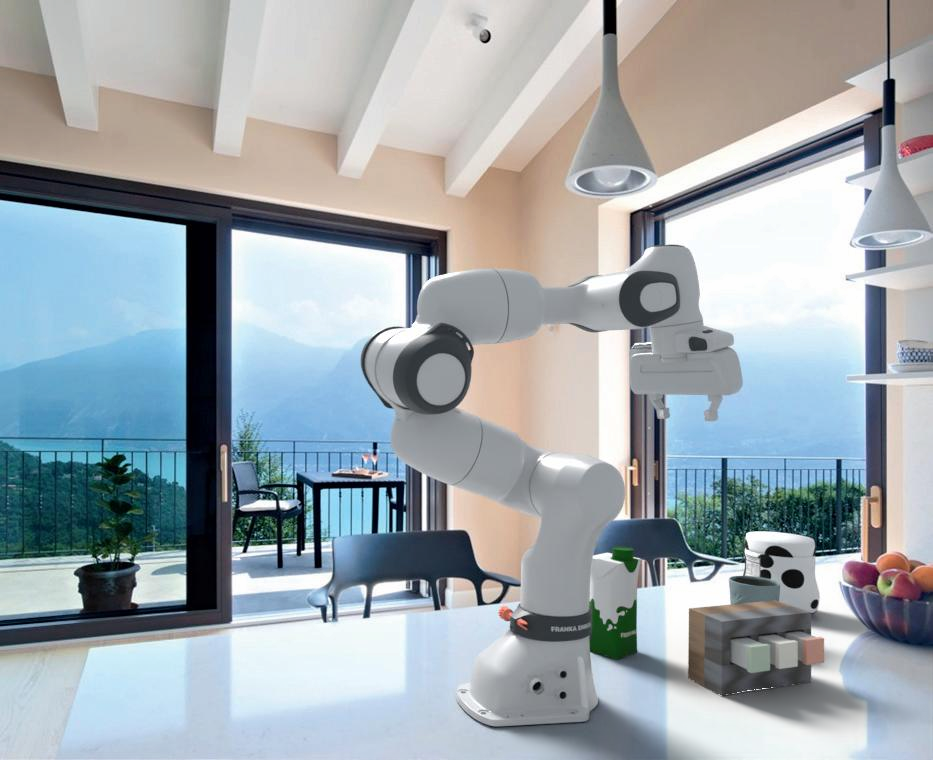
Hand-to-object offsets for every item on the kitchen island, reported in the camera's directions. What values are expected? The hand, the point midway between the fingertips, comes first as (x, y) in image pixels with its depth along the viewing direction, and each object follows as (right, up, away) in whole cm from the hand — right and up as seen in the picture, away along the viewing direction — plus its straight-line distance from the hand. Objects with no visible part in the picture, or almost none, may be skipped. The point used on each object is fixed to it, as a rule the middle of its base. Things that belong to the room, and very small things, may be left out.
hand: (687, 419), depth 116 cm
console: (+11, -46, +1) cm, 47 cm away
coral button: (+19, -41, -2) cm, 45 cm away
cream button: (+14, -40, -4) cm, 43 cm away
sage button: (+8, -40, -6) cm, 41 cm away
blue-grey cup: (+22, -48, +25) cm, 58 cm away
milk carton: (-10, -46, +14) cm, 49 cm away
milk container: (+37, -49, +46) cm, 77 cm away
